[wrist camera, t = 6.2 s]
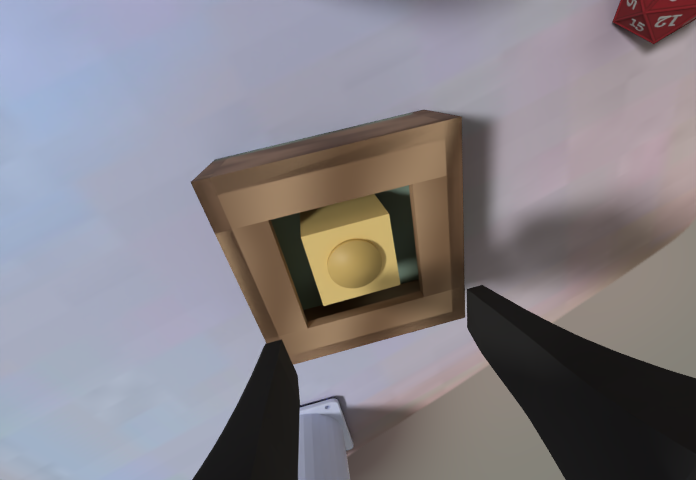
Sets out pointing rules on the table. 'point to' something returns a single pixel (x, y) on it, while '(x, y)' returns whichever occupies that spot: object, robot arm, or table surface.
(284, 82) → the table surface
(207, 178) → the piece box
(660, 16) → the dice
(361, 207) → the yellow dimpled cube
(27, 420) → the table surface
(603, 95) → the table surface
